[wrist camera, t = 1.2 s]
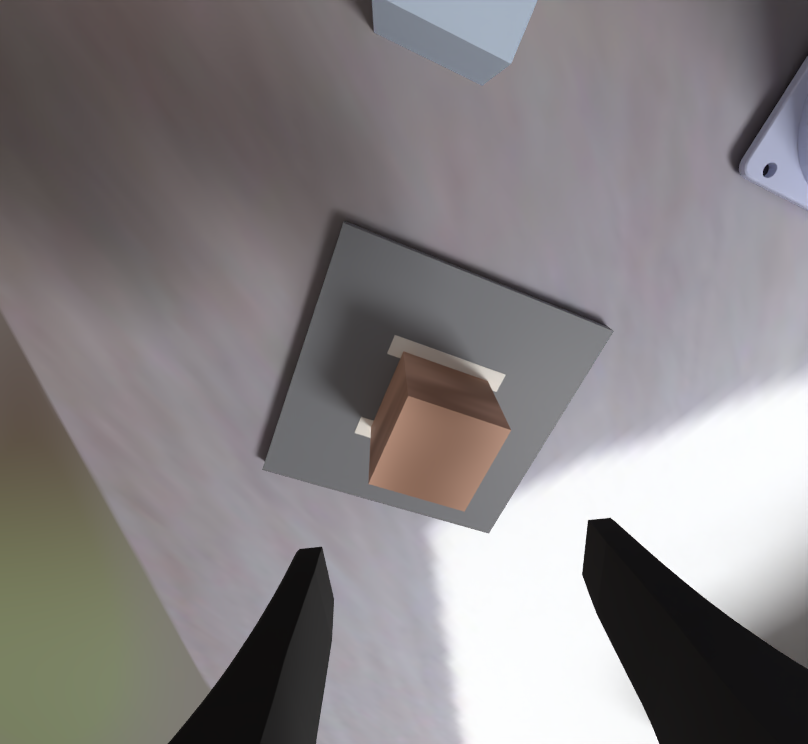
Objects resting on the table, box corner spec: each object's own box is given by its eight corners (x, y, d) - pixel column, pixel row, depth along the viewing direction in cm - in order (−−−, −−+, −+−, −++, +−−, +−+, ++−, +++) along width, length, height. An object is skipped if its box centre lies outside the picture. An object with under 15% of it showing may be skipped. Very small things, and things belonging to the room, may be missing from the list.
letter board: (607, 326, 20) (614, 331, 19) (486, 525, 24) (488, 533, 24) (344, 220, 17) (343, 223, 17) (265, 462, 22) (262, 470, 21)
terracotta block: (488, 381, 20) (511, 430, 16) (450, 452, 21) (464, 511, 18) (403, 351, 19) (408, 395, 16) (370, 427, 21) (368, 484, 17)
